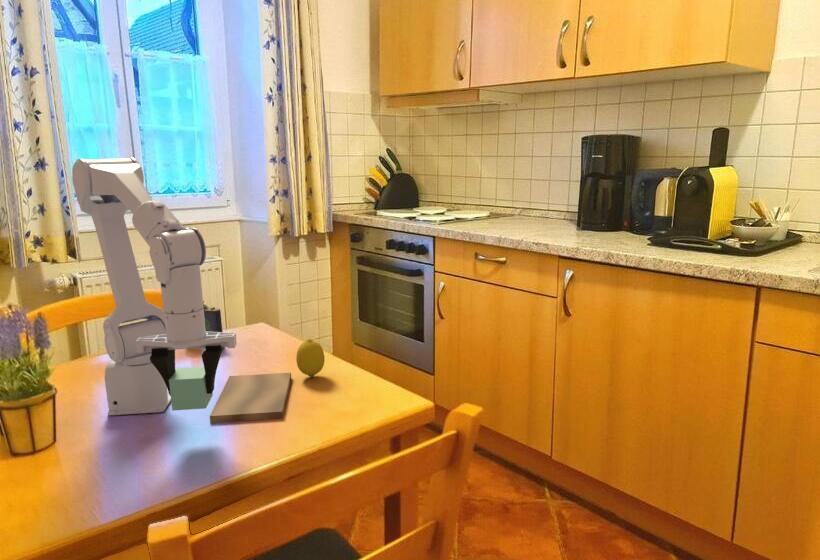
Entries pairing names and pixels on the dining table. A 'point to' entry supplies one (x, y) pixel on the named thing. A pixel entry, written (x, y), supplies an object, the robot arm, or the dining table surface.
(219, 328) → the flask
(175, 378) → the block
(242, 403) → the board
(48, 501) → the dining table surface
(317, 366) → the lemon
